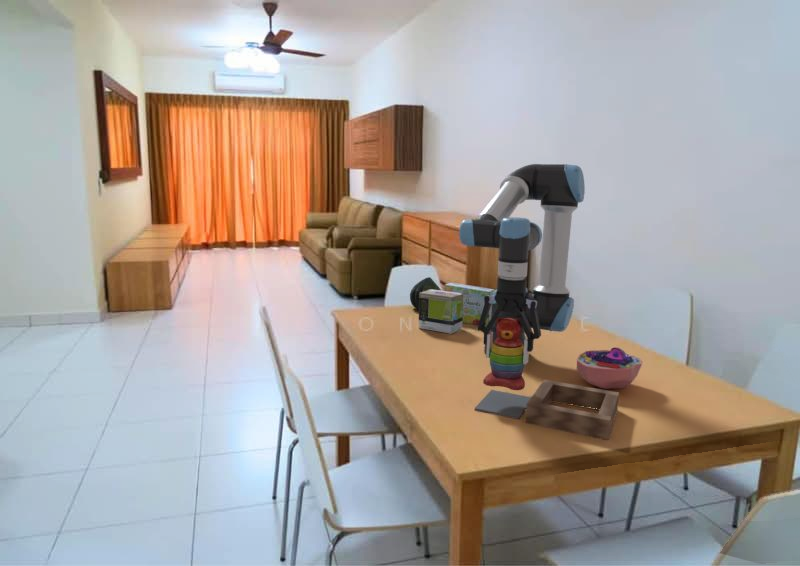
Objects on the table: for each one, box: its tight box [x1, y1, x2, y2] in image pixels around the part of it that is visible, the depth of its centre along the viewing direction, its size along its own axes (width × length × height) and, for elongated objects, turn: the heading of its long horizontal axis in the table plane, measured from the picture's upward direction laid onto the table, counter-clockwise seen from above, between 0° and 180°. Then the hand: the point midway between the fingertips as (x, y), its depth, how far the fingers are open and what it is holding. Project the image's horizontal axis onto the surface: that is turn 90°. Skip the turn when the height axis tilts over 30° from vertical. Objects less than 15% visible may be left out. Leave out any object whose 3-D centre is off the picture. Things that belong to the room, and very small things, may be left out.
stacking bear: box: [482, 317, 526, 391], centre depth 157 cm, size 11×10×18 cm
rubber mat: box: [474, 389, 532, 420], centre depth 160 cm, size 12×15×1 cm
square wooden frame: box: [524, 379, 620, 441], centre depth 153 cm, size 20×20×5 cm
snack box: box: [444, 282, 496, 327], centre depth 244 cm, size 21×6×15 cm, turn 55°
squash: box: [409, 276, 442, 310], centre depth 264 cm, size 14×15×15 cm
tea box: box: [418, 289, 463, 335], centre depth 232 cm, size 15×10×15 cm
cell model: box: [576, 346, 643, 390], centre depth 175 cm, size 17×20×11 cm
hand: (507, 359), depth 158 cm, fingers closed on stacking bear, 9 cm apart
